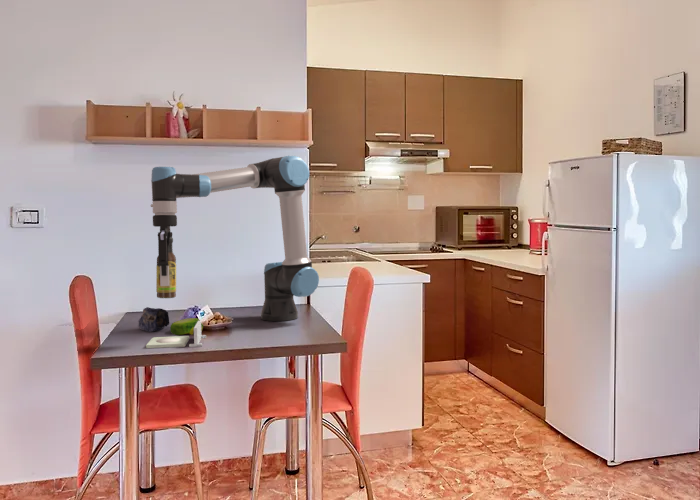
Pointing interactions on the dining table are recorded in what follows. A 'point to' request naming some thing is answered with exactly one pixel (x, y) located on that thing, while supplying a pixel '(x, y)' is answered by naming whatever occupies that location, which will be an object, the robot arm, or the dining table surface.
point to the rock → (153, 319)
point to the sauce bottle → (171, 289)
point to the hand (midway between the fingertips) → (166, 284)
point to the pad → (168, 342)
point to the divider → (197, 335)
